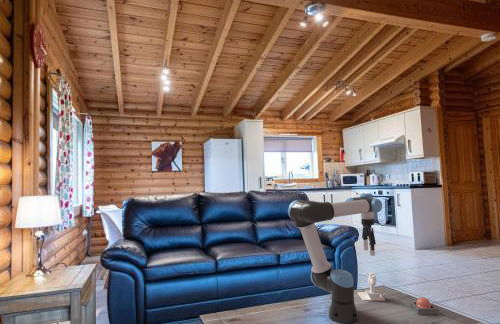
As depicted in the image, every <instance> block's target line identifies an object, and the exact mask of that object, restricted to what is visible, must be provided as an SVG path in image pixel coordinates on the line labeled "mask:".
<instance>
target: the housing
mask: <svg viewBox="0 0 500 324" xmlns="http://www.w3.org/2000/svg"><path fill="white" fill-rule="evenodd" d="M409 304H410V305H409V307H410V308H411V309H412V310H413V311H414V312H415V313H416V314H417V315H421V316H424V315H426V316H427V315H433V316H435V315H439V312H438V311H439V310H438V308H437V307H436V306H434V305H433V304H432V303H431V302H430V304H431V308H419V307H417V306H416V301H410V303H409Z"/></svg>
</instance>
